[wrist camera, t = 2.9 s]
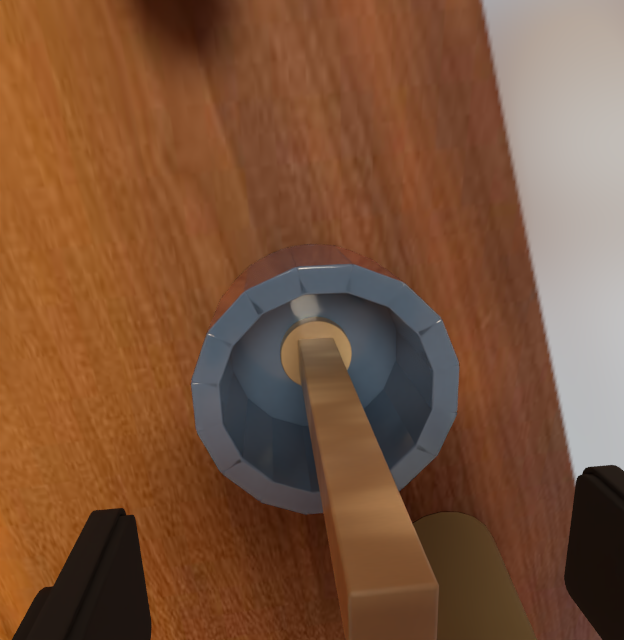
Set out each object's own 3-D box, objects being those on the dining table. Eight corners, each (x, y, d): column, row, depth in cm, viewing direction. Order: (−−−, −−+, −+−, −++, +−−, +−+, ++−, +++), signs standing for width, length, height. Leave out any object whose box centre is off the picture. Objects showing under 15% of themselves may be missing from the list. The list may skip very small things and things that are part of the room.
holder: (414, 239, 23) (465, 258, 17) (411, 429, 25) (453, 502, 20) (201, 249, 22) (178, 272, 16) (219, 444, 25) (205, 524, 19)
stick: (348, 314, 23) (489, 541, 8) (349, 379, 24) (479, 688, 9) (278, 318, 23) (297, 559, 8) (281, 384, 23) (305, 707, 9)
